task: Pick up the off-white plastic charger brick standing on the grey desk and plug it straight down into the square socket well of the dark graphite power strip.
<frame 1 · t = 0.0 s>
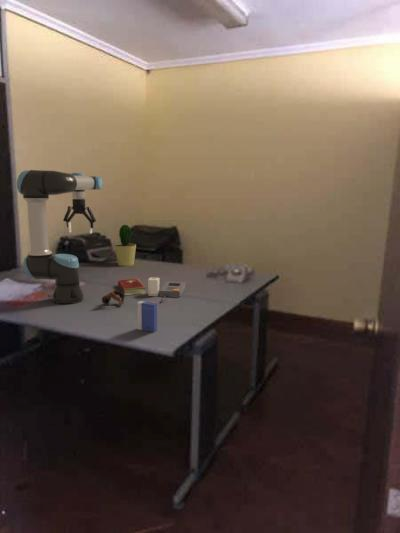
hand: (80, 233, 245), 28 cm above the table, fingers open, 13 cm apart
potted cactus: (126, 264, 289), on the table
brown arched piece: (112, 305, 194), on the table
charger brick: (154, 294, 214), on the table
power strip: (172, 291, 221), on the table
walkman: (147, 330, 163), on the table
hardcover book: (131, 290, 223), on the table
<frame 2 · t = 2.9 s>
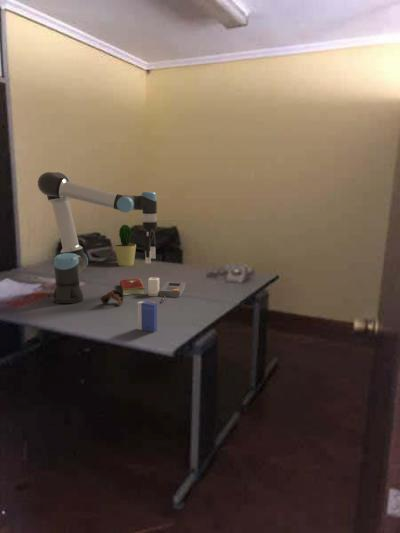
hand: (150, 260, 212), 18 cm above the table, fingers open, 13 cm apart
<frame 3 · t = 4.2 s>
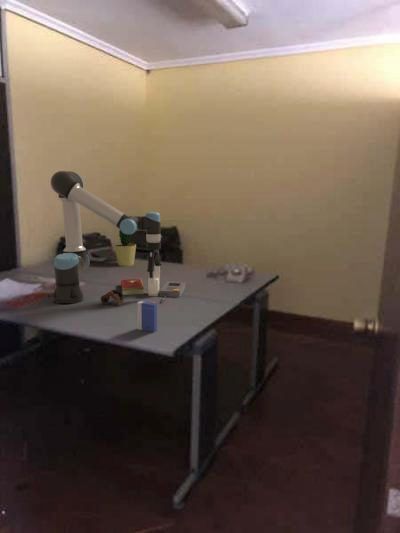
hand: (154, 280, 212), 8 cm above the table, fingers open, 13 cm apart
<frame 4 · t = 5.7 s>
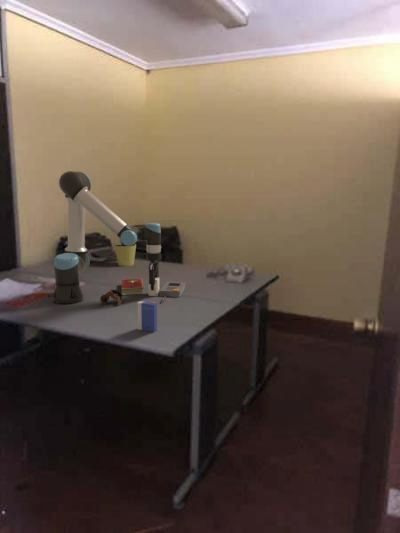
hand: (154, 294, 214), 0 cm above the table, fingers closed on charger brick, 5 cm apart
charger brick: (154, 294, 214), on the table, touching gripper
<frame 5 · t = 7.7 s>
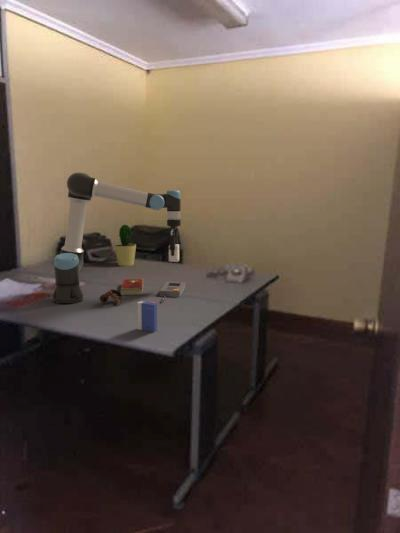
hand: (174, 260, 220), 17 cm above the table, fingers closed on charger brick, 5 cm apart
charger brick: (174, 260, 220), point 17 cm above the table, touching gripper
when the fingers open (4 cm above the table, at t = 9.9 s): charger brick drops 3 cm, resting on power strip.
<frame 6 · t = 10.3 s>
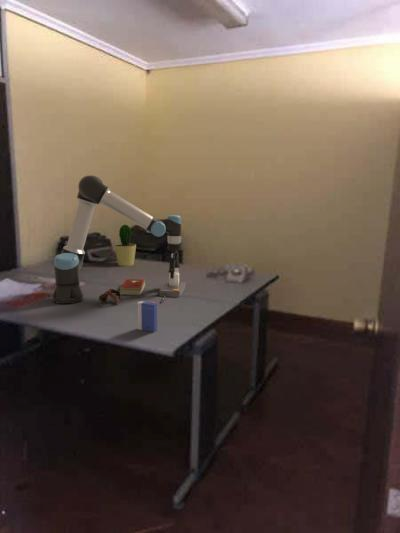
hand: (174, 281, 224), 5 cm above the table, fingers open, 11 cm apart
charger brick: (174, 288, 224), resting on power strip
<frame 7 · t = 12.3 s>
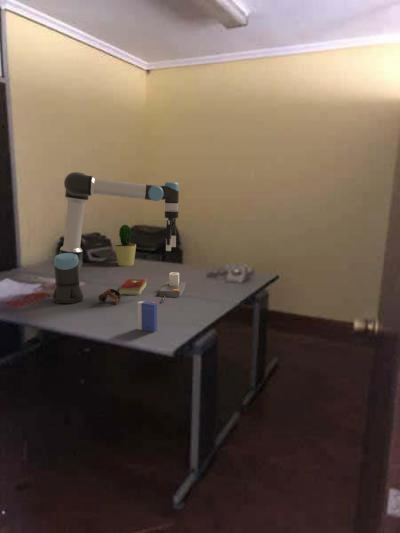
hand: (170, 248, 220), 24 cm above the table, fingers open, 13 cm apart
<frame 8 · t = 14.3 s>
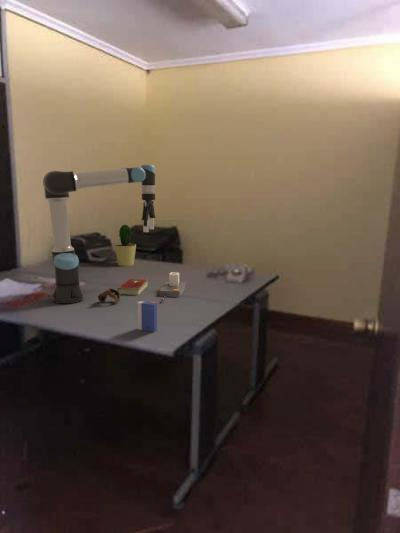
hand: (148, 230, 225), 33 cm above the table, fingers open, 13 cm apart
at the end: charger brick 0.0 cm from the target spot on the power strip, point 0.5 cm above the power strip's base; charger brick tilted 0°; the gripper is holding nothing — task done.
